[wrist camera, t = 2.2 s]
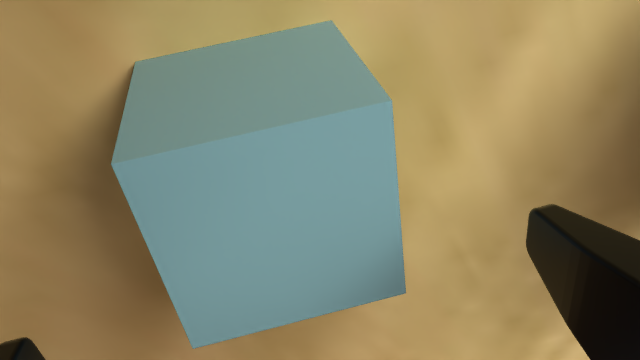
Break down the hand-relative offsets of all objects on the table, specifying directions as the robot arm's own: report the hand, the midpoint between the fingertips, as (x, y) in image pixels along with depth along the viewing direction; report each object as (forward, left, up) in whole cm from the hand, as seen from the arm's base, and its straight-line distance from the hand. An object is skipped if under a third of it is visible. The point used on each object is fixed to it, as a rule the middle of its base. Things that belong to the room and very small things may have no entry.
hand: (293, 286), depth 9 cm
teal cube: (0, 0, -6) cm, 7 cm away
